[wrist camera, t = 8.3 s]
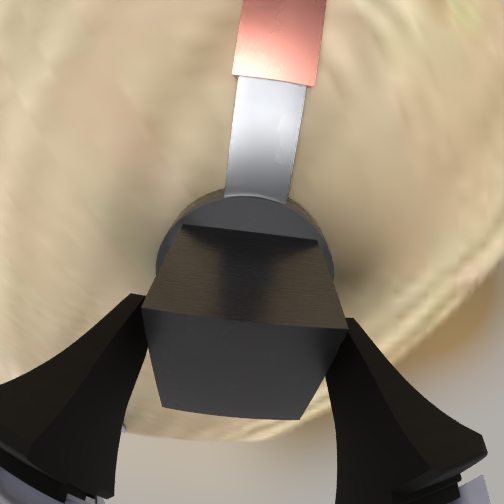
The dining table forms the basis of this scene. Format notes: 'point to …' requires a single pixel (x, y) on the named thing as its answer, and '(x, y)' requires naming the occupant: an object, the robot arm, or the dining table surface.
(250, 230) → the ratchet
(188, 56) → the dining table surface
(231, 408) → the dark grey brushed cube
